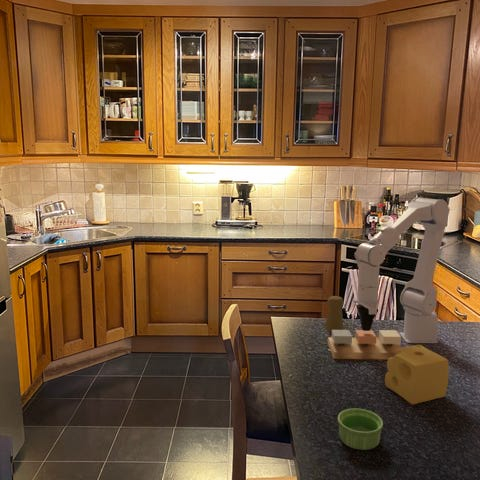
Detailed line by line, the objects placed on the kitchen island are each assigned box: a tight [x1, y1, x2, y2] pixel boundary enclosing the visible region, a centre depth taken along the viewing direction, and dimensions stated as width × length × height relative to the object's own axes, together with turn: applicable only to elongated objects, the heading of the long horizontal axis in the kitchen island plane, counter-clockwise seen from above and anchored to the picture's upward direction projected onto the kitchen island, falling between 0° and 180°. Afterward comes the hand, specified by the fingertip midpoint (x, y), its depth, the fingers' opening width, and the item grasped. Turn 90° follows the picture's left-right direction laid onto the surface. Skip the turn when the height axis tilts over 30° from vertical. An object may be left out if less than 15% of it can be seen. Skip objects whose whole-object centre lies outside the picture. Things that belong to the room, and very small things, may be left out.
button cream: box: [378, 329, 402, 345], centre depth 141 cm, size 5×5×2 cm
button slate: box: [331, 329, 353, 344], centre depth 142 cm, size 5×5×2 cm
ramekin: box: [337, 408, 384, 451], centre depth 99 cm, size 9×9×4 cm
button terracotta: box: [354, 329, 378, 344], centre depth 141 cm, size 5×5×2 cm
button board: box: [327, 336, 402, 360], centre depth 142 cm, size 20×11×3 cm, turn 88°
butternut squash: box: [324, 295, 345, 333], centre depth 159 cm, size 6×6×11 cm
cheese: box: [384, 344, 450, 405], centre depth 118 cm, size 10×11×10 cm
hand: (365, 329), depth 141 cm, fingers closed
